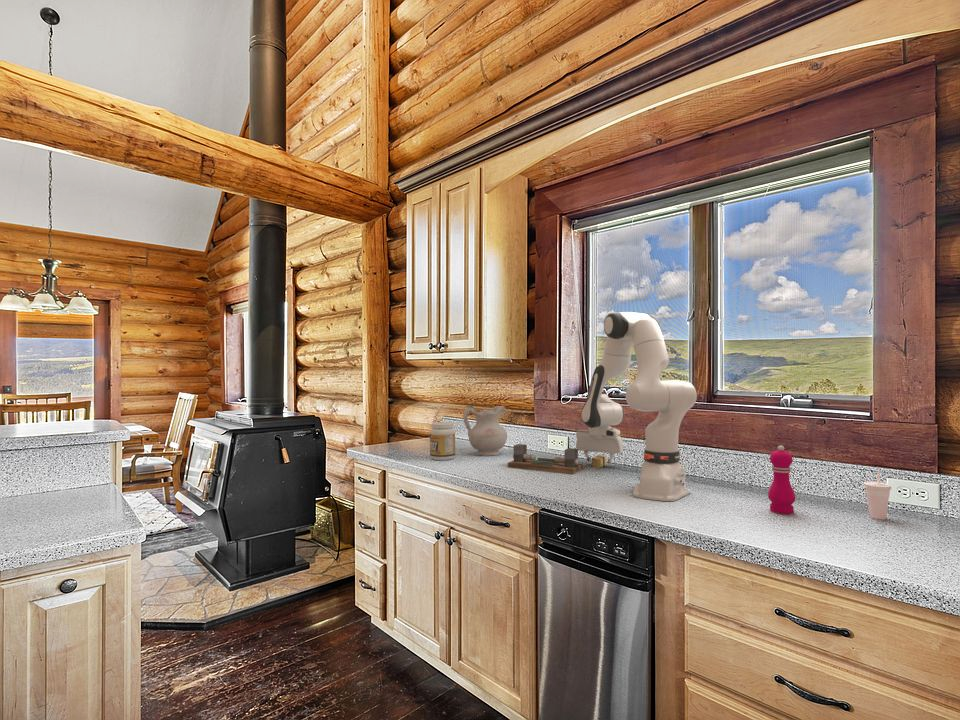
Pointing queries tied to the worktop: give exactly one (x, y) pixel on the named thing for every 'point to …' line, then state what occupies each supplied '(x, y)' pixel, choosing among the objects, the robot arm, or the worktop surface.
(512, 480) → the worktop surface
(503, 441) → the ceramic pitcher
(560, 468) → the shaft stand
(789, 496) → the pepper mill
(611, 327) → the robot arm
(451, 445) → the supplement tub
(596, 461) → the coupling
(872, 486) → the smoothie
